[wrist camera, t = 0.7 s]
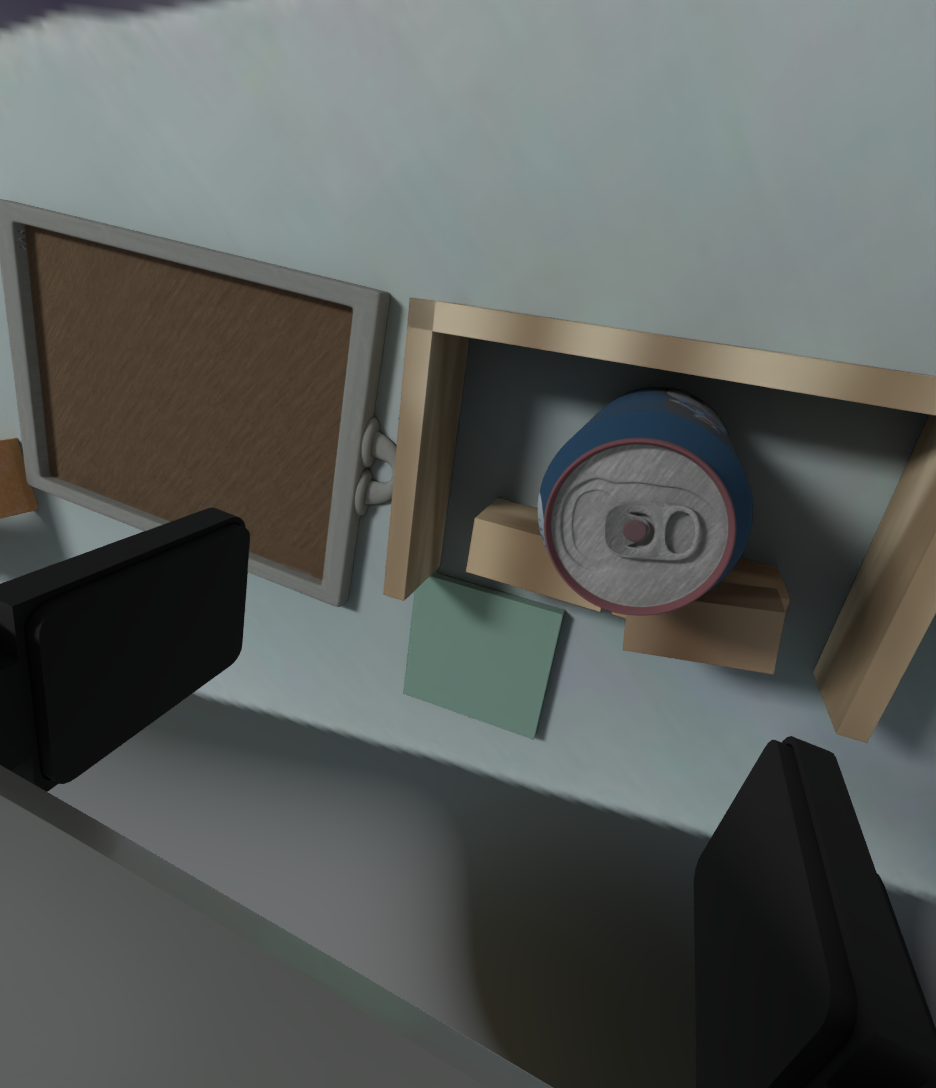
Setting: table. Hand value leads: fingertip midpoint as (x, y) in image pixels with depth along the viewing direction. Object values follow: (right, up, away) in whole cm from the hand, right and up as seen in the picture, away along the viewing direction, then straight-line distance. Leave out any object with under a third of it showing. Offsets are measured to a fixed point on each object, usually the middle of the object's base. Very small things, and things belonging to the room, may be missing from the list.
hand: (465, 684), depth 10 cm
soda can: (+9, +7, +19) cm, 22 cm away
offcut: (+5, +3, +22) cm, 22 cm away
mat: (+1, -4, +26) cm, 26 cm away
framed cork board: (-17, +11, +28) cm, 34 cm away
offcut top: (+11, -1, +16) cm, 19 cm away
